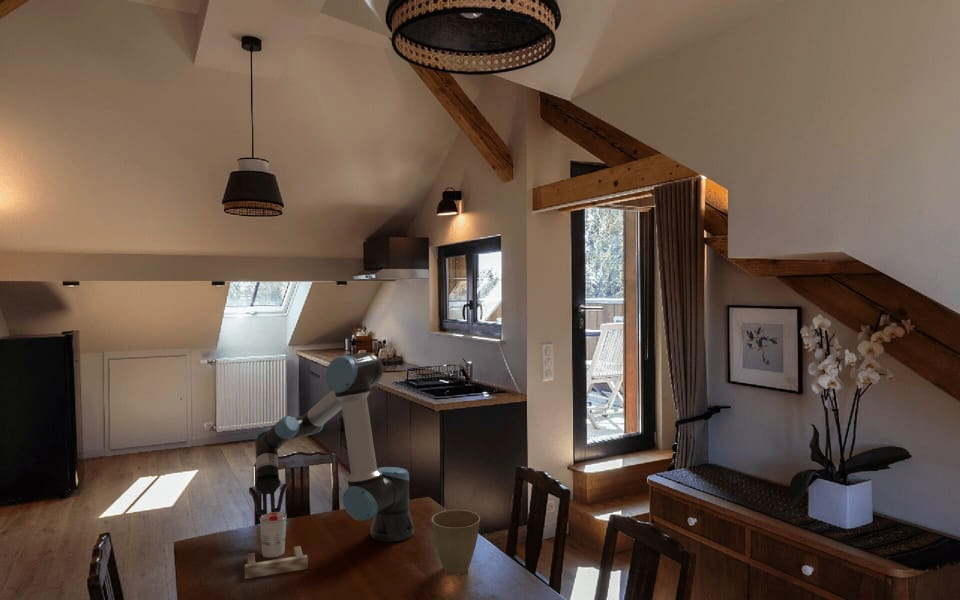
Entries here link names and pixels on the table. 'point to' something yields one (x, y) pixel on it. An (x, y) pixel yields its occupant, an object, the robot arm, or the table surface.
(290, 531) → the table surface
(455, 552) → the plant pot
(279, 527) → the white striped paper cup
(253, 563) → the cream wooden u-shaped piece
